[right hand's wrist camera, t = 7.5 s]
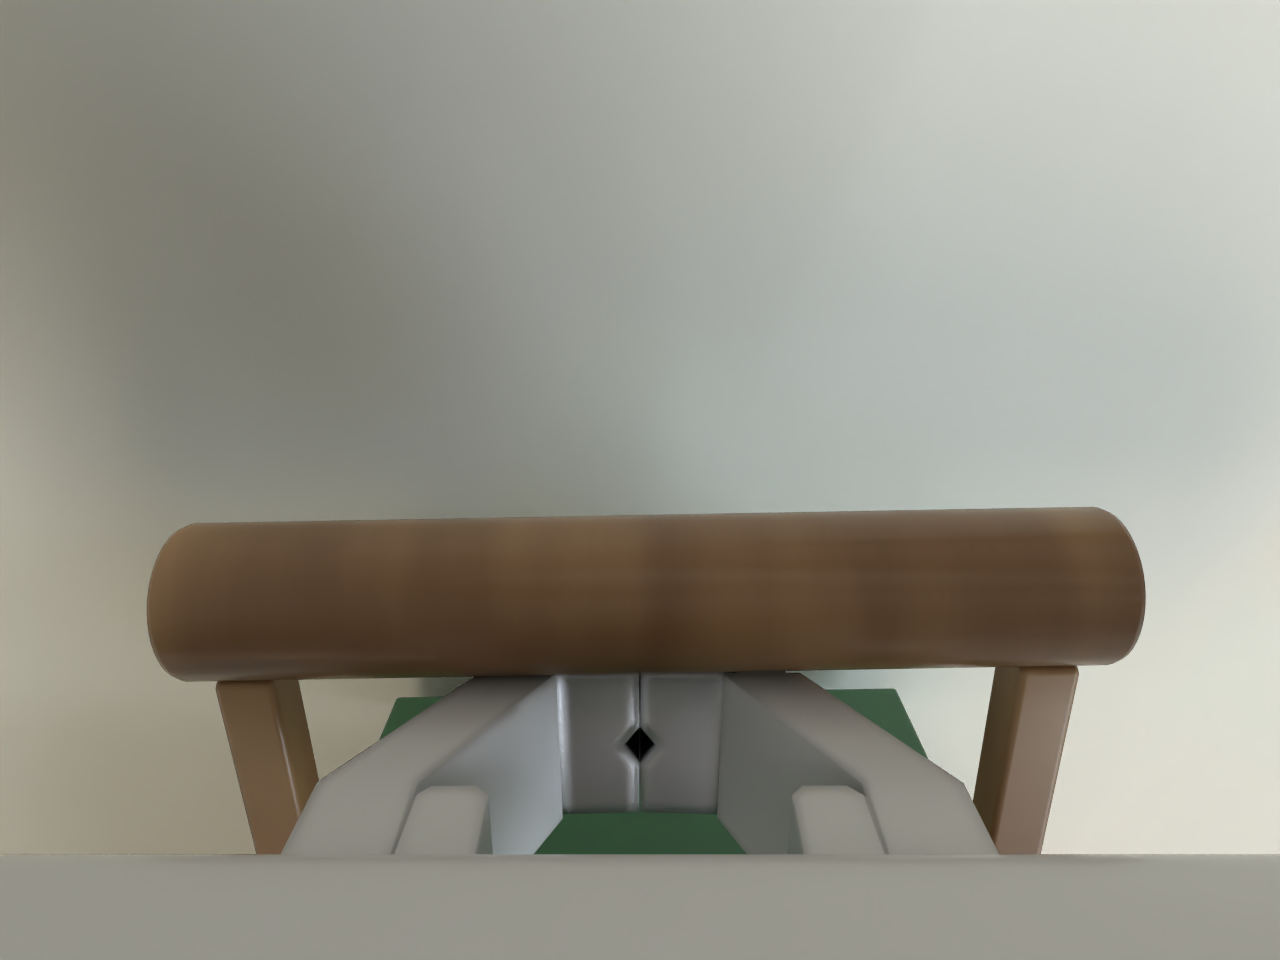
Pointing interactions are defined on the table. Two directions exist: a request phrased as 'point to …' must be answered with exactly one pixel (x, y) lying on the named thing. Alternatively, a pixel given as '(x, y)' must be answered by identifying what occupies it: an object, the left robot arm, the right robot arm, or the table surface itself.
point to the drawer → (651, 627)
